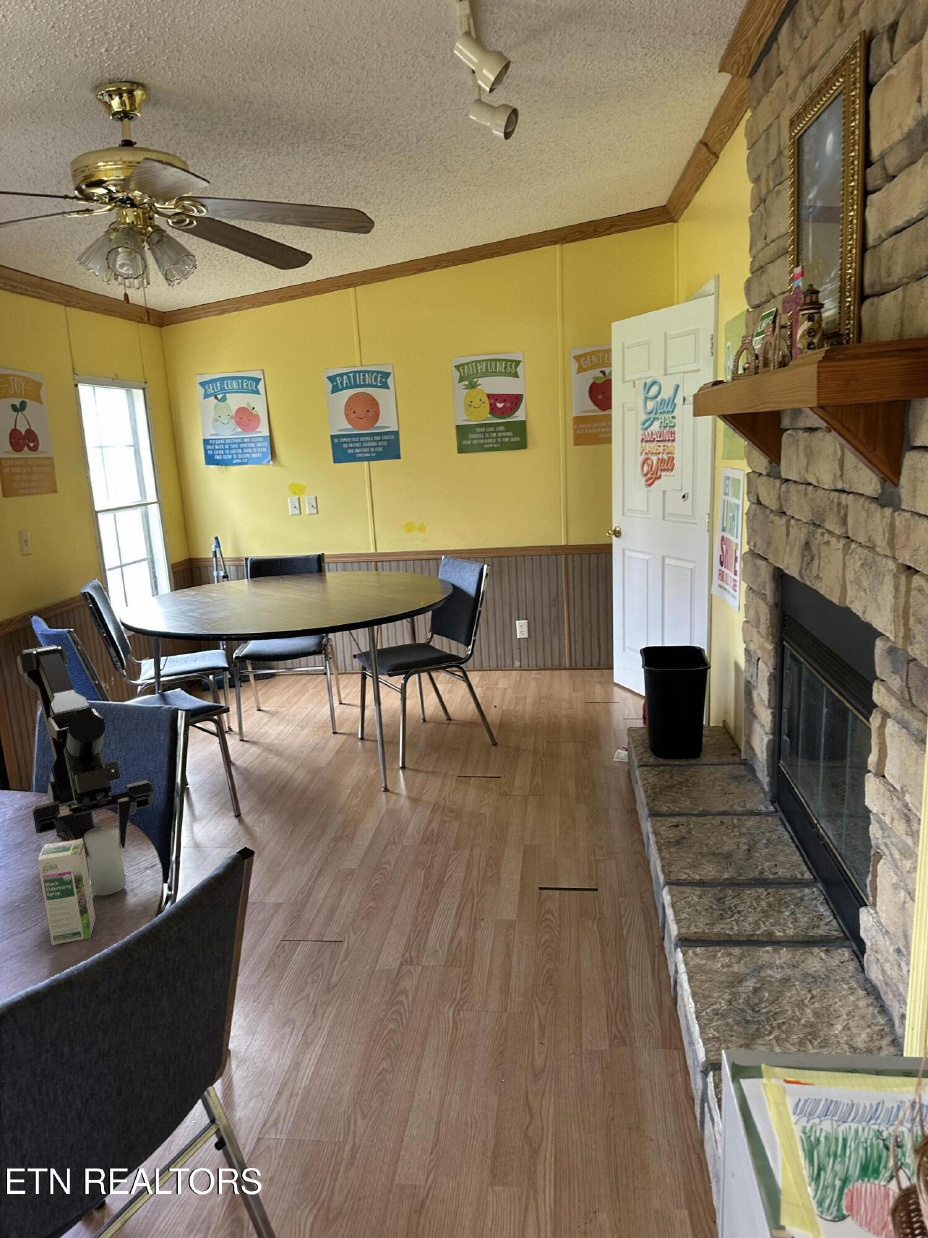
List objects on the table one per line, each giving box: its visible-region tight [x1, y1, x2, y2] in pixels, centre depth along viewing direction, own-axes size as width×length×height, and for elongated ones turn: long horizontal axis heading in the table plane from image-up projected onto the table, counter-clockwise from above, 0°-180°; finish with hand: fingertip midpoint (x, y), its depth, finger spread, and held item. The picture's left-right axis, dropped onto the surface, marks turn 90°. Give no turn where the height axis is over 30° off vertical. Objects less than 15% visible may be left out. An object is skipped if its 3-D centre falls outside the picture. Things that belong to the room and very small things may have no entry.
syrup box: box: [37, 837, 96, 946], centre depth 130 cm, size 6×6×14 cm
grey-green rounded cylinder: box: [83, 824, 127, 896], centre depth 142 cm, size 5×5×10 cm
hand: (104, 852), depth 140 cm, fingers open, 6 cm apart
